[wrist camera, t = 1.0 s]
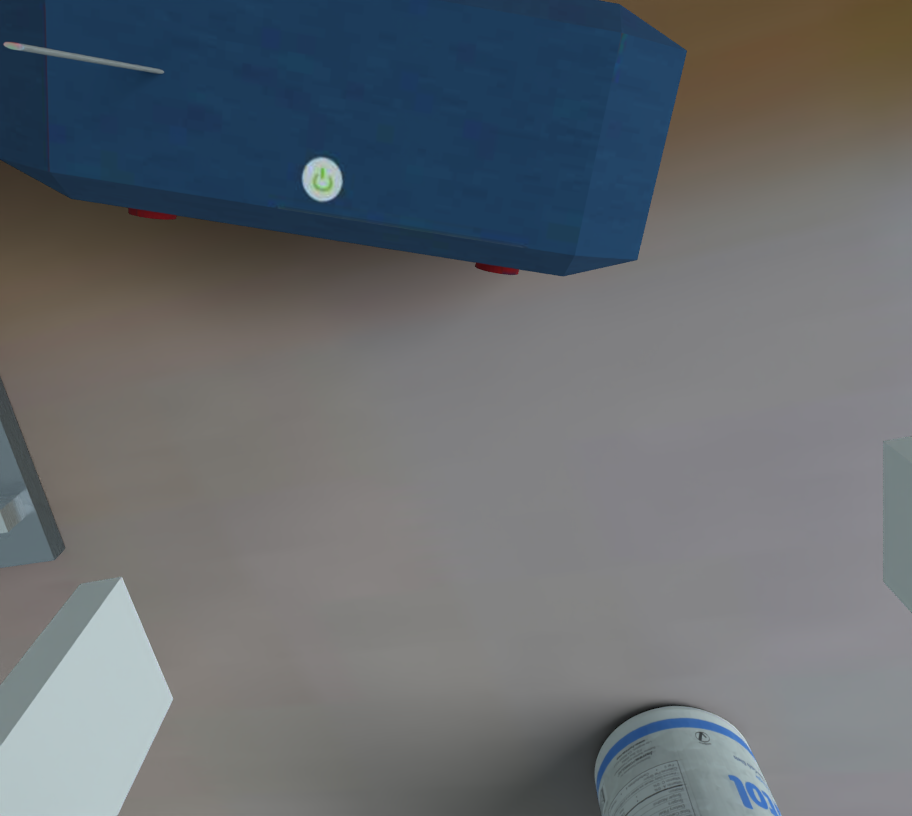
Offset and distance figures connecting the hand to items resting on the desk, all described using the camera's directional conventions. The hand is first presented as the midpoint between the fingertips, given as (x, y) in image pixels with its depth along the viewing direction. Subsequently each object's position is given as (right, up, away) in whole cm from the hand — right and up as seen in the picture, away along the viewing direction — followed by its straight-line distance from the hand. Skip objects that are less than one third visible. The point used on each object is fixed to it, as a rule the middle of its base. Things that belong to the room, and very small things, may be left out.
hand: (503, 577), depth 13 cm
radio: (-5, +16, +21) cm, 27 cm away
